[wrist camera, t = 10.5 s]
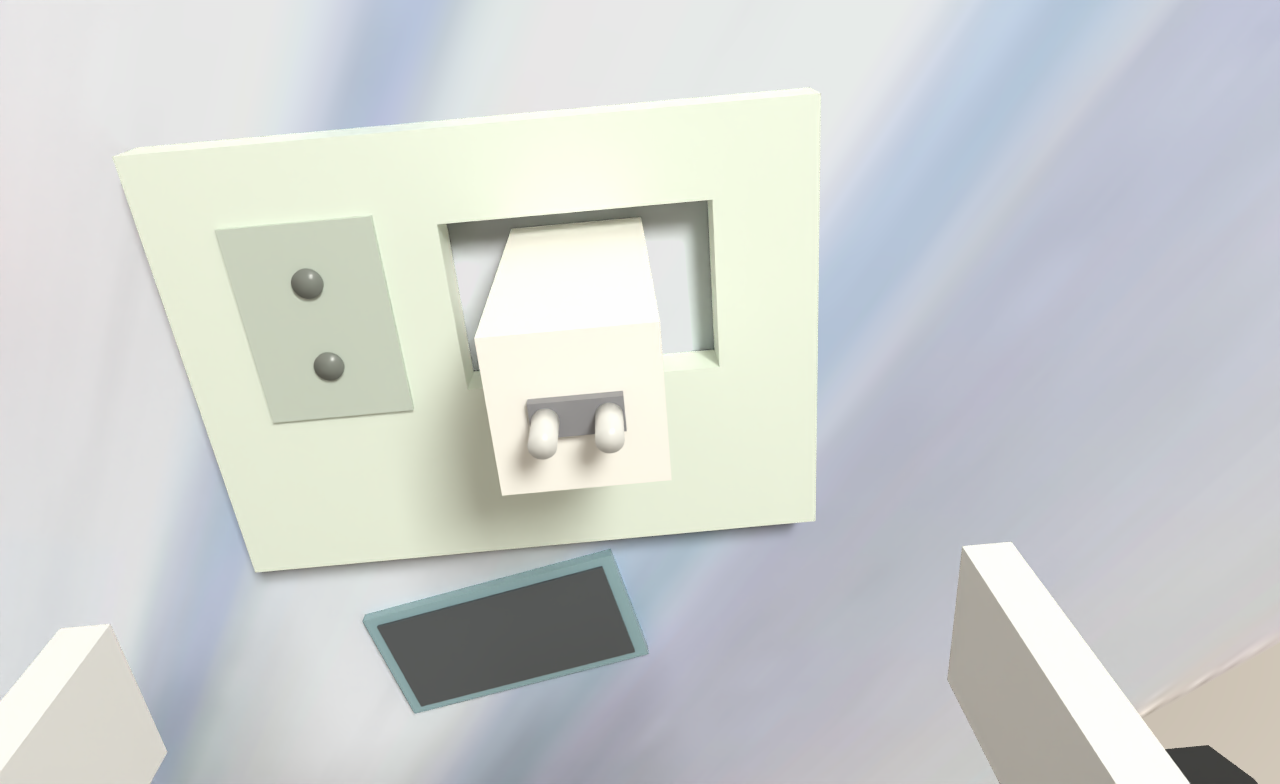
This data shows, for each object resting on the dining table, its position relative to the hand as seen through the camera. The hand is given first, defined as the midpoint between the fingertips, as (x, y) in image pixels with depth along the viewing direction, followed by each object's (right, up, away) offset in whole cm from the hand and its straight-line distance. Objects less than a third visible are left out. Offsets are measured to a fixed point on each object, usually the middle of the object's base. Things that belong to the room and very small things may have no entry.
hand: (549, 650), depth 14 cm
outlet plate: (-3, +6, +18) cm, 19 cm away
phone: (-4, -6, +24) cm, 26 cm away
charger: (-1, +8, +17) cm, 19 cm away
